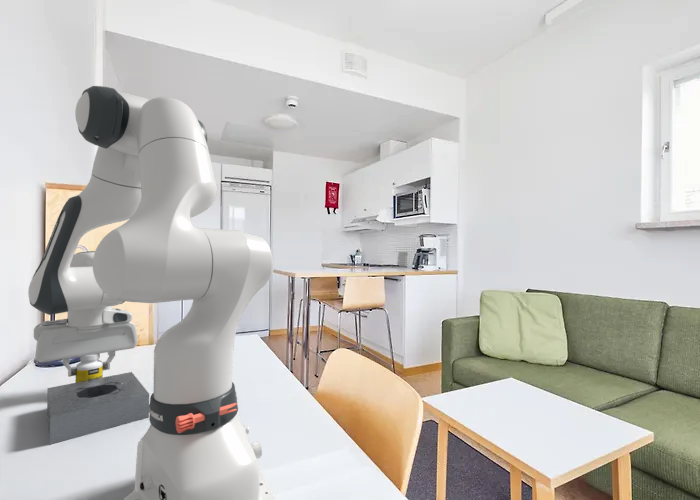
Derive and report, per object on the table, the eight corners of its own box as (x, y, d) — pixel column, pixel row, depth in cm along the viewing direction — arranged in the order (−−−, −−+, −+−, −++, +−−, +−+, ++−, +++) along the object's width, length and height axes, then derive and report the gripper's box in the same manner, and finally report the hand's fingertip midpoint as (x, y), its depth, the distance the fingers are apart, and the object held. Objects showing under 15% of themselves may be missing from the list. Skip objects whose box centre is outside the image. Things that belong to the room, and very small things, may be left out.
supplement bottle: (87, 398, 84) (88, 357, 84) (69, 396, 85) (69, 356, 85) (107, 389, 89) (108, 351, 89) (90, 388, 90) (90, 349, 90)
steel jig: (148, 417, 74) (149, 393, 75) (50, 444, 64) (50, 417, 64) (131, 391, 88) (131, 371, 88) (47, 410, 77) (47, 388, 77)
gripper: (33, 324, 78) (32, 386, 78) (139, 313, 91) (138, 366, 91) (33, 320, 82) (33, 378, 82) (134, 310, 96) (133, 361, 96)
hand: (89, 372), depth 87 cm, fingers closed on supplement bottle, 5 cm apart
